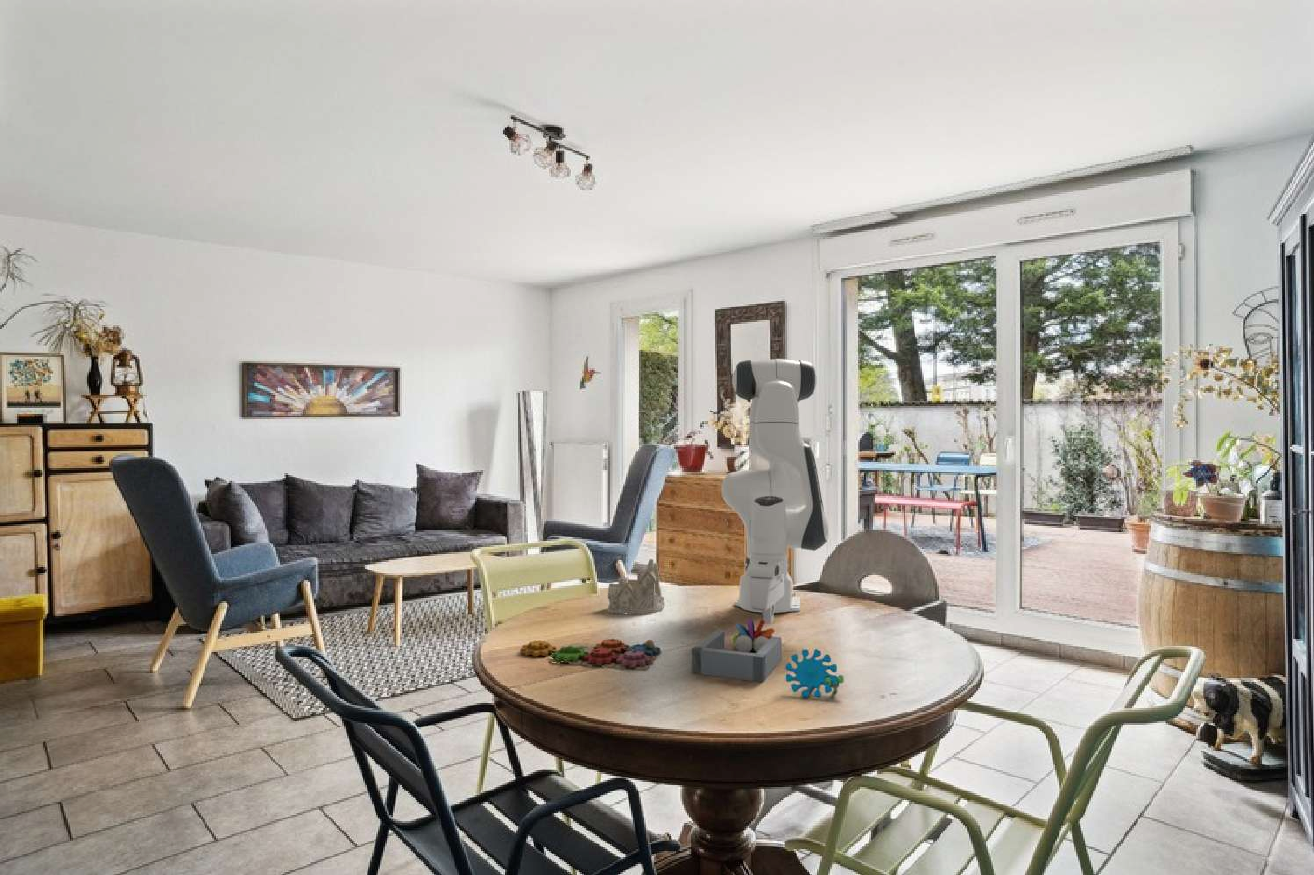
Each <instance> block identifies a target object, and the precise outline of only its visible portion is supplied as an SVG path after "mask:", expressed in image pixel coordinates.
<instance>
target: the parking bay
mask: <svg viewBox="0 0 1314 875" xmlns="http://www.w3.org/2000/svg"><path fill="white" fill-rule="evenodd" d="M782 640H783V639H782V636H781V637H779V636H772V638H771V639H770V640H769V641H768V642H767V643H766V644H765V645H764V646H763V647H762V648H761V649H760V650H759V651H758V652H739V651H738V650H730V649H729V650H728V649H725V631H724V630H714V631H713V632H711V634H709V635H708V636H706V637H705V638H704V639H703V640H701V641H700V642H698V644H696V645H695V646H694V647H692V648H691V674H697V675H705V676H710V677H711V676H713V677H719V678H728V679H733V680H734V679H736V680H740V681H741V680H743V681H751V682H757V683H764V682H765V680H766V679H767V678H768V677H769V676H770V675H771V673H772V672H773V671H774V670H775V668H776V667H778V665H779V664H780V663H781V662H782V651H783V650H782V648H783V647H782V646H783V644H782Z"/></svg>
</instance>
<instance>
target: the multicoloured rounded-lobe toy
mask: <svg viewBox="0 0 1314 875" xmlns="http://www.w3.org/2000/svg"><path fill="white" fill-rule="evenodd" d="M764 625H765V621H764V620H763V619H761V620H760V621H759V623H758V624H757V626H756V629H755V623H754V620H753V618H751V617H750V618H748V619H747V628H746V626H744V625H743V624H741V623H738V624H737V625H736V629H737V631H738V633H737V635H734V636H733V637H732V642H733V644H735V648H736V651H739V652H748V653H751V651H752V650H754V651H755V653H757V652H758V651H759V650H760V649H761V648H762V647H763V646H764V645H765V644H766V643H767V642H768V641H769V640H770V639H771V638H772V637H773V634H774V633H775V629H774V628H767V629H765V630H762V629H763V627H764Z"/></svg>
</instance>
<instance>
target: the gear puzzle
mask: <svg viewBox="0 0 1314 875" xmlns="http://www.w3.org/2000/svg"><path fill="white" fill-rule="evenodd" d="M584 643H585V644H583V643H571V644H570V645H568V646H564V645H563V646H561V647H560V648H559V649H557V647H556V646H553V645H552V644H551V643H549V642H548V641H547V640H533V641H529V643H527V644H523V645H522V646H521V648H520V650H519V652H520V653H524V655H525V656H533V657H539V656H544V657H547V656H548V655H549V654H548V653H553V654H550V656H548V657H552V658H553V659H551V660H549V663H550V662H556V663H561V661H564V662H570V663H569V664H571V665H570V666H582V665H589V666H588V667H590V666H592V667H594V666H601V665H602V666H601V668H603V667H607V668H606V669H616V668H618V670H626V669H627V668H626V667H628V668H629V669H634V670H635V671H649V669H650V665H653V664H654V663H655V661H657V659H658V656H659V655H661V654H662V650H661V648H660V647H658V646H655V642H654V641H653V640H652V639H648V640H646V642H644V643H642V644H640V643H637V644H632V645H629V644H625V642H623V641H622V640H619V639H615V638H611V639H609V638H607V639H604V640H602V641H601V642H600V643H596V644H595V645H594V644H592V645H589V644H590V643H589V642H588V643H587V642H584ZM554 650H556V651H554ZM613 667H615V668H613Z"/></svg>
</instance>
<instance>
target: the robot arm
mask: <svg viewBox="0 0 1314 875" xmlns="http://www.w3.org/2000/svg"><path fill="white" fill-rule="evenodd" d="M731 381H732V382H731V383H732V388H733V390H734V392H735V395H736V396H737V397H739V399H742V400H745V401H747V402H748V403H750V412H749V428H748V430H749V433H748V434H749V436H748V446H749V449H750V451H751V452H752V453H753V454H754V455H755V456H757V457H758V458H761V459H762V460H764V461H766V462H767V463H768V464H769V468H768V469H763V470H762V469H758V470H757V469H755V470H754V469H742V470H738V471H733V472H729V473H728V474H726V475H725V477H724V478H723V480H722V482H721V483H722V484H721V488H720V491H721V496H722V500H724V502H725V504H726V505H727V506H728V507H729V508H731V509H732V510H733V511H734V512H735V513H736V514H737V515H738V516H739V518H740V519H741V521H742V523H743V526H744V530H745V535H746V537H745V538H746V557H745V561H744V565H745V568H744V570H745V572H744V573H743V574H742V576H740V579H739V597H738V599H737V600H734V601H733V603H734V604H733V605H734V606H736V607H740V608H741V609H742V610H745V611H748V612H754V613H762V616H763V617H762V618H763V619H762V620H764V621H765V623H764V625H765V624H766V625H767V624H769V625H770V624H771V623H772V622H774V618H775V617H774V614H781V613H789V612H799V611H801V597H800V596H798V595H796V592H794V589H793V588H794V586H793V585H794V582H793V579H792V577H791V575H790V573H789V572H788V571H789V570H790V569H789V557H788V549H801V550H807V551H816V550H819V549H820V548H822V547H823V546H824V545H825V544H826V543H827V542H828V537H829V524H828V521H827V516H826V515H825V514H826V513H825V509H824V505H823V504H824V503H823V498H822V492H821V488H820V487H821V486H820V480H819V476H818V475H819V473H818V468H817V464H816V460H815V455H814V452H813V449H812V448H811V446H810V445H809V444H807V443H806V442H805V441H804V440H803V438H802V436H801V432H800V411H799V410H800V409H799V402H800V401H803V400H807V399H809V398H810V397H811V396H813V394H814V392H815V390H816V387H817V383H818V376H817V373H816V370H815V367H814V365H813V364H812V362H810V361H807V360H801V359H798V360H794V359H785V358H774V359H757V360H751V359H747V360H742V361H740V362H739V361H738V363H737V364H736V365H735V369H734V371H733V374H732V378H731ZM801 507H804V508H802V509H798V508H801Z"/></svg>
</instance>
